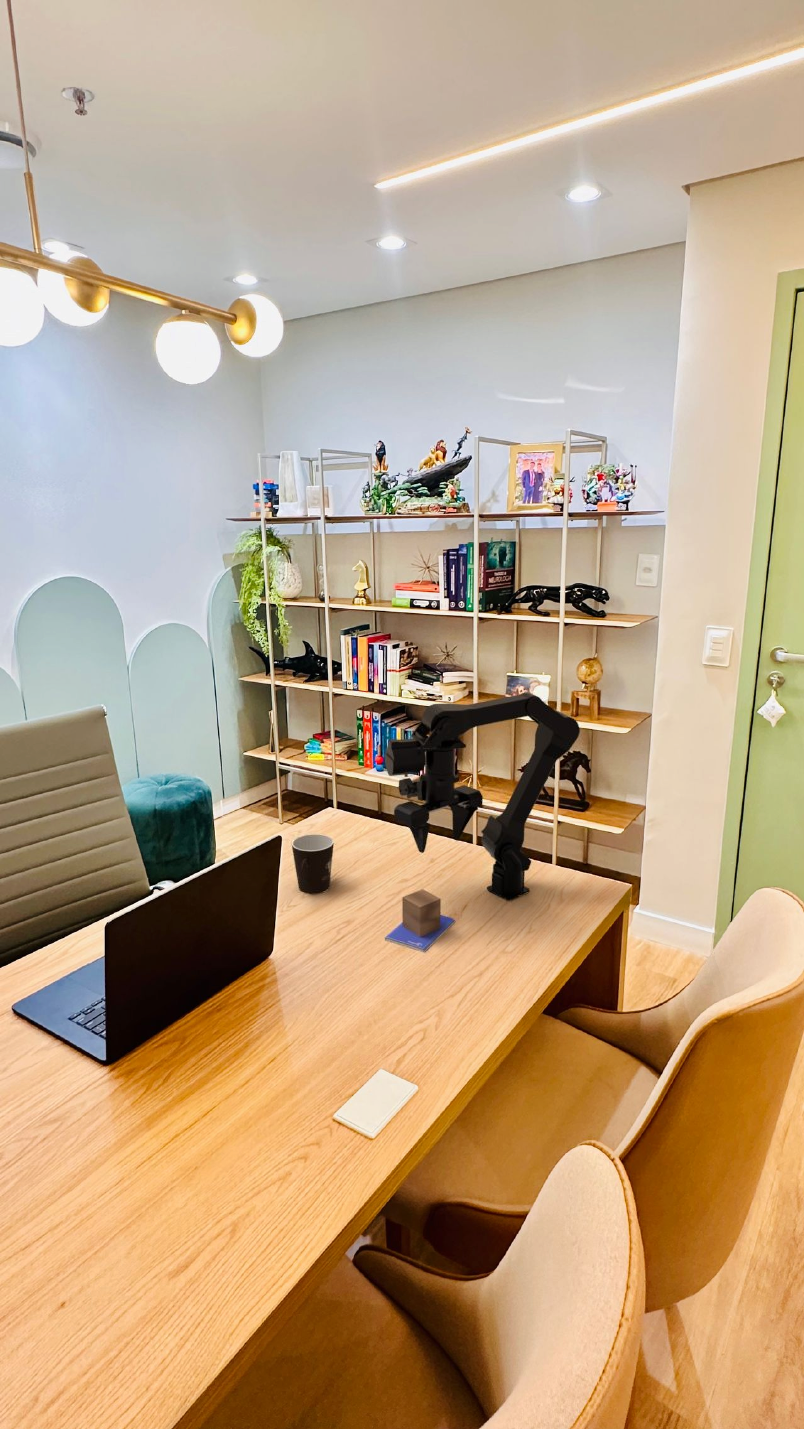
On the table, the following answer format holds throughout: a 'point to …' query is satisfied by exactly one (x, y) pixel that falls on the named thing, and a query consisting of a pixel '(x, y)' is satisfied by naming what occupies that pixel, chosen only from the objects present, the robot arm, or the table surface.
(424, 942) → the hard drive
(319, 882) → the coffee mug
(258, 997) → the table surface
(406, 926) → the walnut block
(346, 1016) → the table surface
